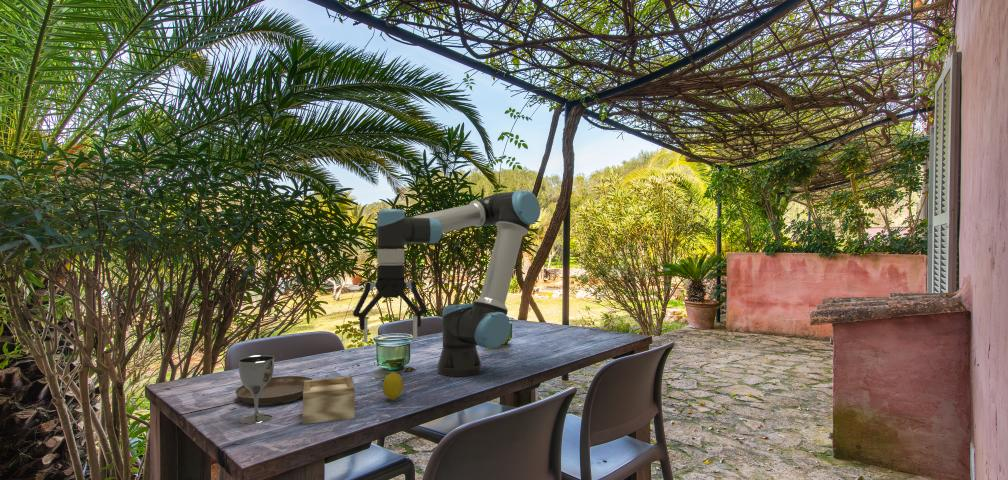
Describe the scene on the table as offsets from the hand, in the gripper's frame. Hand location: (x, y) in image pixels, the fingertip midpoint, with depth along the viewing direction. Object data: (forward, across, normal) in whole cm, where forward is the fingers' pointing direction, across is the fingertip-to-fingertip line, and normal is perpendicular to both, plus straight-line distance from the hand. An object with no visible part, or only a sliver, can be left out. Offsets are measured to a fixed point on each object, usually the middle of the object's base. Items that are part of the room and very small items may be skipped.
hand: (390, 340), depth 138 cm
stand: (+17, +16, +6) cm, 24 cm away
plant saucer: (+17, +30, -15) cm, 38 cm away
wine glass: (+17, +33, +4) cm, 38 cm away
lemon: (+17, -1, 0) cm, 17 cm away
